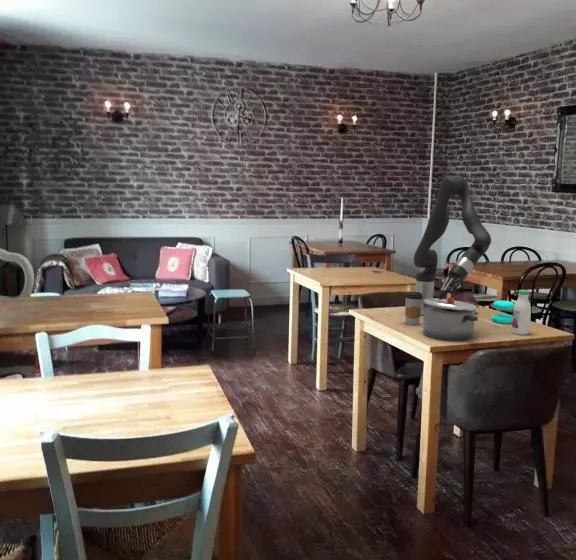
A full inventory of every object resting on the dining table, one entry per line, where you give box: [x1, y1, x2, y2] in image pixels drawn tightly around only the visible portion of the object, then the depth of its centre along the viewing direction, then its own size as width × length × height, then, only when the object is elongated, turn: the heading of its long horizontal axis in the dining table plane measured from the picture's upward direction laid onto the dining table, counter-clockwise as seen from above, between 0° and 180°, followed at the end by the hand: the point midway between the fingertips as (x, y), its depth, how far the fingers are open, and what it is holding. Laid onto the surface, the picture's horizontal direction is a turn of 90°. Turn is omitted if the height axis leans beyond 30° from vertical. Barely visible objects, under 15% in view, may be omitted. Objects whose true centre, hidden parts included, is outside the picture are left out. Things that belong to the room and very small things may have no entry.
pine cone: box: [451, 292, 479, 308], centre depth 341 cm, size 18×10×10 cm, turn 34°
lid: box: [424, 297, 478, 311], centre depth 290 cm, size 23×24×3 cm
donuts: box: [491, 300, 515, 325], centre depth 320 cm, size 10×10×10 cm
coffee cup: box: [404, 291, 423, 326], centre depth 310 cm, size 8×8×15 cm
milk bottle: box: [511, 289, 532, 336], centre depth 297 cm, size 8×8×20 cm
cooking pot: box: [422, 304, 479, 342], centre depth 291 cm, size 31×22×12 cm
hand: (438, 298), depth 286 cm, fingers closed
